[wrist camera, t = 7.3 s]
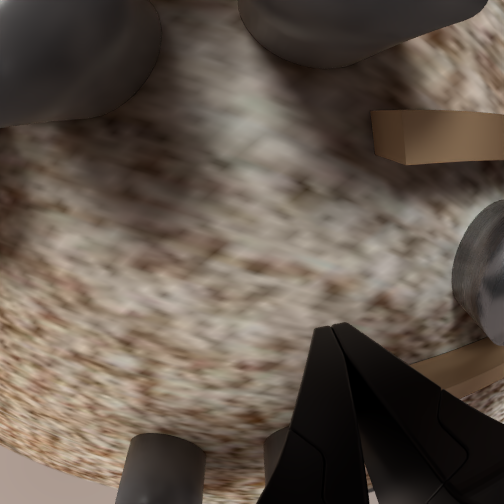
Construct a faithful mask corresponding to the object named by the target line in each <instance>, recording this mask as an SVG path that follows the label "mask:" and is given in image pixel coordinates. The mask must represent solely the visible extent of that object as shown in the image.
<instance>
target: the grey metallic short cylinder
mask: <svg viewBox="0 0 504 504" xmlns="http://www.w3.org/2000/svg"><path fill="white" fill-rule="evenodd" d="M452 289H453V293H454V296H455V299H456V300H457V302H458V303H459V304H460V305H461V306H462V307H463V308H464V310H465V311H466V312H467V313H468V314H469V315H470V316H471V317H472V318H473V320H474V321H475V322H476V323H477V324H478V325H479V326H480V328H481V329H482V330H483V331H484V332H485V333H486V335H487V336H488V337H489V338H490V339H491V340H492V342H493V343H494V344H496V345H499V346H504V200H499V201H496V202H494V203H492V204H490V205H489V206H487V207H486V208H485V209H484V210H482V211H481V212H480V213H479V214H478V215H477V217H476V218H475V219H474V220H473V222H472V223H471V224H470V226H469V227H468V229H467V231H466V232H465V234H464V236H463V238H462V240H461V242H460V245H459V247H458V249H457V253H456V256H455V259H454V264H453V269H452Z"/></svg>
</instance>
